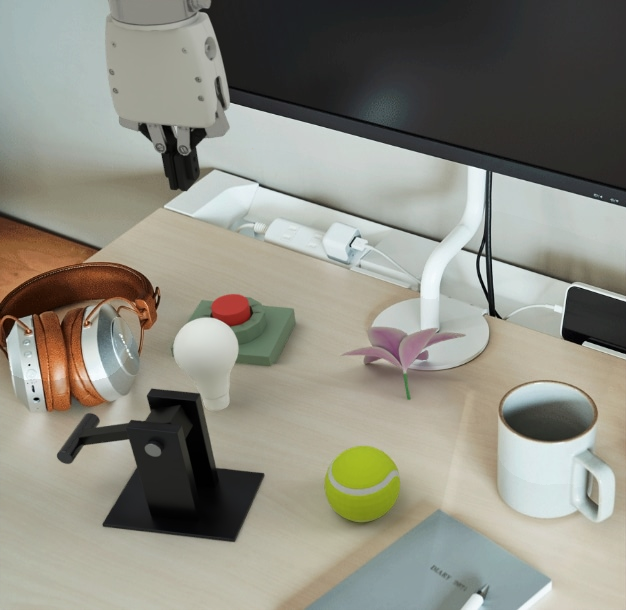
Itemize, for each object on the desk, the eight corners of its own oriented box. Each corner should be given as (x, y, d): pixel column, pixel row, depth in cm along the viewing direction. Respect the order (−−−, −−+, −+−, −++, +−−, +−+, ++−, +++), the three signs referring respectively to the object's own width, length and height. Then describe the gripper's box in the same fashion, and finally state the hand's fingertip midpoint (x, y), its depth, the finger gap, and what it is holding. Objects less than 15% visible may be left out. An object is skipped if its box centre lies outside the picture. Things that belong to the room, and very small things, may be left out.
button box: (173, 363, 101) (167, 334, 98) (204, 315, 108) (199, 286, 106) (271, 372, 100) (266, 343, 97) (295, 323, 107) (292, 295, 104)
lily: (482, 383, 100) (465, 297, 99) (445, 415, 89) (427, 319, 88) (382, 394, 104) (365, 311, 103) (335, 426, 93) (316, 334, 92)
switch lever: (64, 469, 79) (50, 449, 78) (92, 429, 83) (78, 409, 82) (176, 454, 76) (163, 433, 75) (199, 414, 80) (187, 393, 79)
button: (208, 326, 100) (205, 313, 99) (221, 305, 103) (218, 292, 102) (243, 329, 100) (241, 316, 99) (255, 308, 103) (253, 295, 102)
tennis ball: (379, 548, 80) (375, 494, 76) (313, 523, 82) (306, 470, 79) (414, 495, 85) (412, 442, 81) (351, 474, 87) (346, 421, 84)
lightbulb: (176, 424, 93) (155, 337, 86) (205, 385, 98) (187, 301, 91) (232, 434, 92) (215, 347, 85) (258, 395, 96) (244, 310, 90)
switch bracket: (104, 533, 81) (72, 435, 74) (143, 468, 88) (117, 372, 81) (236, 548, 80) (215, 451, 73) (265, 481, 87) (249, 386, 80)
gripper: (248, -5, 85) (268, 174, 95) (94, -17, 86) (130, 161, 97) (218, 21, 79) (243, 209, 89) (52, 8, 80) (96, 195, 91)
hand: (184, 184), depth 93 cm, fingers closed
